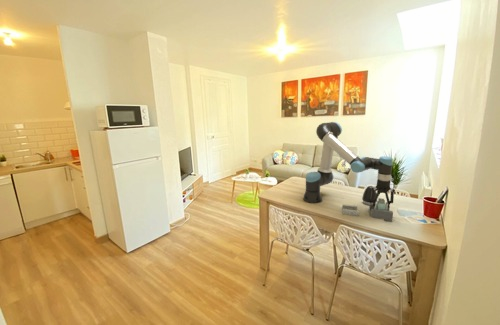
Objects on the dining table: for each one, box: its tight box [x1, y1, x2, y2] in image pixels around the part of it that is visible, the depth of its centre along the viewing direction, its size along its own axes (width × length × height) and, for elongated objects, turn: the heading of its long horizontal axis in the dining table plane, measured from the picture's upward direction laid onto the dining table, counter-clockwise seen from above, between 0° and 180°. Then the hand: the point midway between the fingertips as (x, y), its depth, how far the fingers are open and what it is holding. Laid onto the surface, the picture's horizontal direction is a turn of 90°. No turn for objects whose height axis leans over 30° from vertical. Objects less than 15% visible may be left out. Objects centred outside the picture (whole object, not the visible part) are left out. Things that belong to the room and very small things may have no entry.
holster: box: [341, 204, 360, 217], centre depth 150 cm, size 10×10×4 cm
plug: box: [376, 197, 386, 210], centre depth 143 cm, size 4×5×12 cm
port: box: [368, 203, 394, 223], centre depth 144 cm, size 12×12×7 cm
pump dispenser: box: [361, 185, 378, 206], centre depth 161 cm, size 10×10×15 cm
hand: (380, 211), depth 144 cm, fingers open, 6 cm apart
